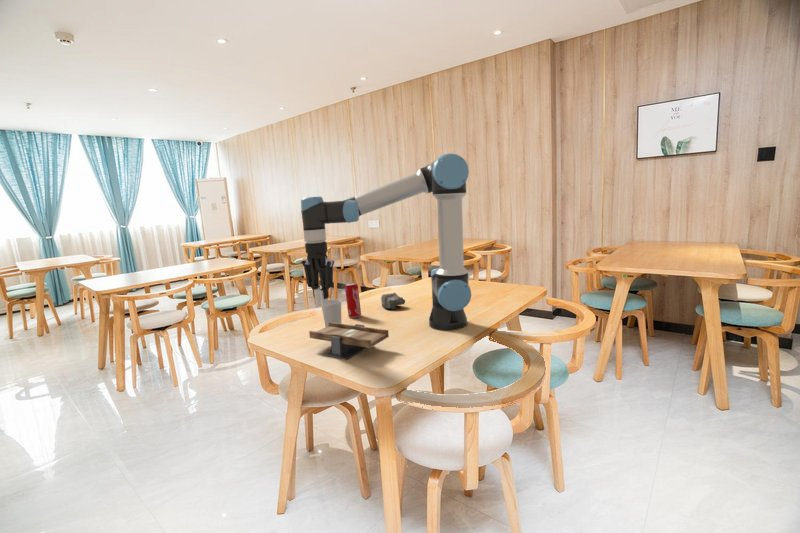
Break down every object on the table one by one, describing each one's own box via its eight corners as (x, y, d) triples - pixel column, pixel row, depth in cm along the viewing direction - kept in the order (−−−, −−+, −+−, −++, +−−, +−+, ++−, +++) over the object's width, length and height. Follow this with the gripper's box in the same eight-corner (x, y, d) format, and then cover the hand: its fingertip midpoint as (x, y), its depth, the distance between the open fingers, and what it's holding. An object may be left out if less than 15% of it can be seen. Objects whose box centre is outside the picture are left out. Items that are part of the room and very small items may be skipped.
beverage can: (356, 319, 177) (353, 285, 174) (344, 317, 180) (341, 284, 178) (364, 315, 182) (361, 282, 179) (352, 313, 185) (350, 281, 183)
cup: (339, 334, 158) (337, 304, 156) (320, 333, 160) (317, 304, 158) (346, 327, 166) (343, 299, 164) (328, 327, 168) (325, 299, 166)
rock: (408, 307, 190) (407, 293, 189) (396, 312, 184) (394, 298, 183) (387, 303, 199) (386, 291, 198) (375, 308, 193) (373, 295, 192)
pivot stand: (374, 343, 146) (373, 325, 144) (346, 360, 132) (345, 340, 131) (352, 339, 151) (350, 322, 150) (323, 355, 137) (321, 336, 136)
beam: (388, 336, 139) (388, 330, 138) (370, 348, 129) (369, 341, 129) (330, 328, 152) (330, 322, 152) (309, 337, 143) (309, 331, 142)
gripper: (339, 240, 140) (345, 305, 144) (307, 240, 148) (313, 302, 152) (325, 243, 134) (331, 311, 138) (292, 242, 141) (299, 307, 145)
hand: (322, 306), depth 145 cm, fingers open, 2 cm apart
